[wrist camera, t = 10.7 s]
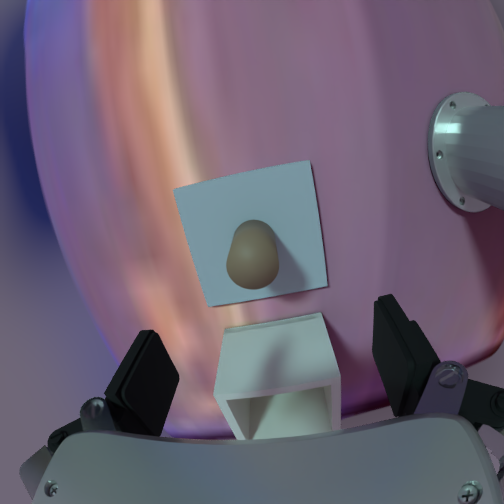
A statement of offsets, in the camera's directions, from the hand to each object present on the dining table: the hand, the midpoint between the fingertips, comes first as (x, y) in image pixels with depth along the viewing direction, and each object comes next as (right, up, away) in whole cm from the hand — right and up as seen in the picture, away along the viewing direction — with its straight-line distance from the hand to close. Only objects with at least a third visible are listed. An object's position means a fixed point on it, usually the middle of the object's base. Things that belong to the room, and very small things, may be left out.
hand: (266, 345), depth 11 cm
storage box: (+2, -8, +19) cm, 20 cm away
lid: (0, +5, +14) cm, 15 cm away
